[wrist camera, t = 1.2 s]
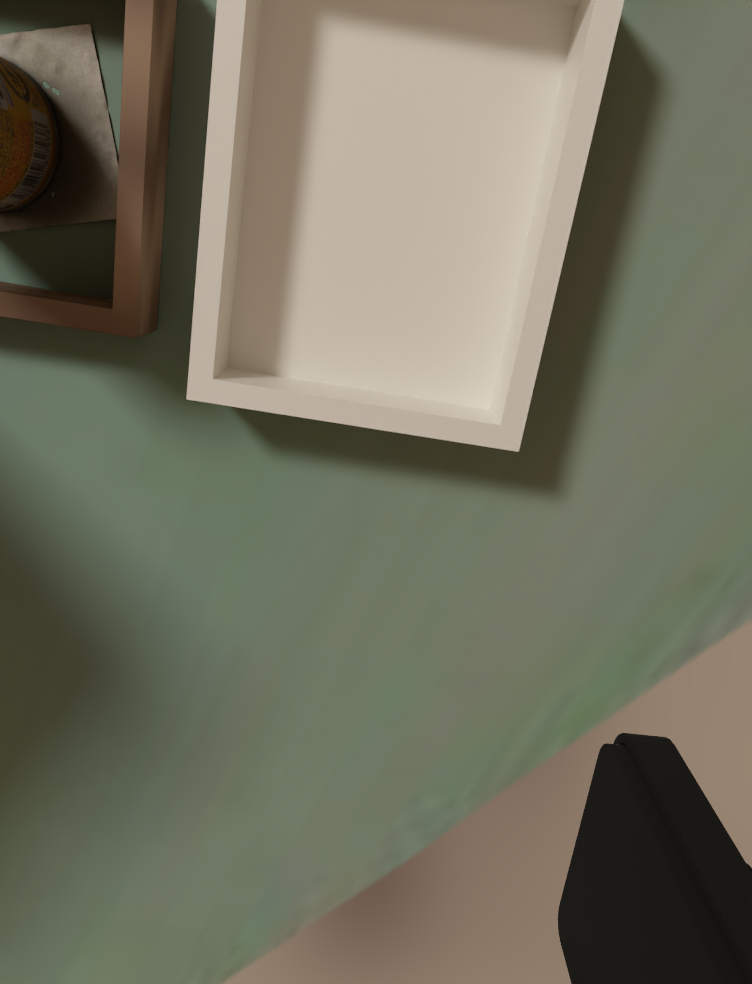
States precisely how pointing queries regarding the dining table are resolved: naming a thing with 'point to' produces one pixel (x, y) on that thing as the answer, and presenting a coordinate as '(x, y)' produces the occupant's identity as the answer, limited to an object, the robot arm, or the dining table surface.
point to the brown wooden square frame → (126, 191)
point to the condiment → (54, 131)
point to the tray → (391, 206)
